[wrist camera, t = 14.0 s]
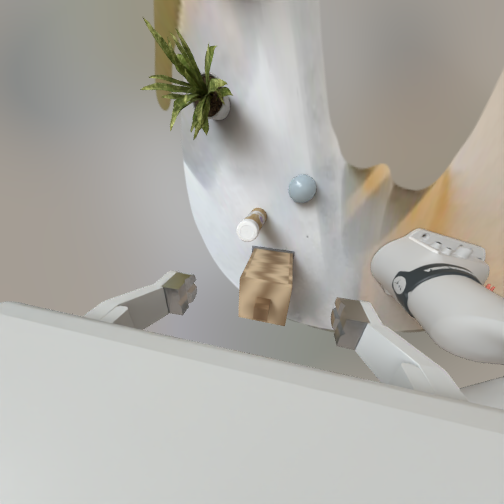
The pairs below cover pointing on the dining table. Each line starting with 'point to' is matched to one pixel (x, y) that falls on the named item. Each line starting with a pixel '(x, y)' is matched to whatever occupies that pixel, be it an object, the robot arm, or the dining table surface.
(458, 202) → the dining table surface
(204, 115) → the house plant
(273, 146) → the dining table surface
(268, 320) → the oak cover
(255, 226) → the sprinkles bottle
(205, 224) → the dining table surface
